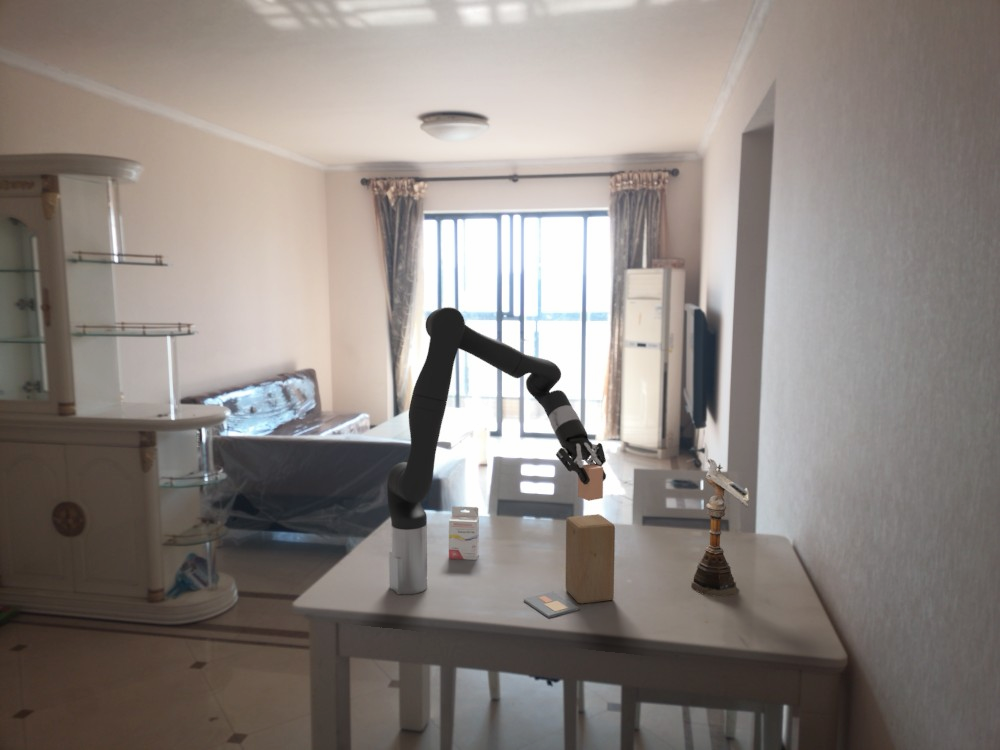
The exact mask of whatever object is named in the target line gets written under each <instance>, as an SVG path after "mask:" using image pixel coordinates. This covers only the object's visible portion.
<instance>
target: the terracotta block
mask: <svg viewBox="0 0 1000 750" xmlns="http://www.w3.org/2000/svg"><path fill="white" fill-rule="evenodd" d="M595 464H596V463H595ZM595 464H587V463H586V464H582V465H583V467H582V468H584V469H585V471H586V473H587V475H588V477H589V478H590V481H589V482H588V483H587V484H585V485H584V484H583V483H582V482H581V480H580V478H579V476H578V475H577V497H578V498H581V499H583V500H586V501H595V500H599V499H603V498H604V497H603V495H604V481H603V470H604V467H603V466H602V467H601V466H598V465H595Z"/></svg>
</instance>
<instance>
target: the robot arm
mask: <svg viewBox="0 0 1000 750" xmlns="http://www.w3.org/2000/svg"><path fill="white" fill-rule="evenodd" d="M425 320H426V321H425V330H426V331H425V332H426V334H427V335H428V336H429V338H430V339H429V342H428V343H429V344H428V350H427V355H426V358H425V361H424V363H423V366H422V367H421V369H420V372H419V374H418V376H417V378H416V382H415V384H414V387H413V391H412V394H411V399H410V402H409V403H410V404H409V408H408V427H409V434H410V450H409V454H408V459H407V462H406V461H403V462H399V463H397V464H395V465H393V467H392V468H391V469H390V470H389V473H388V476H387V483H386V491H387V492H386V494H387V495H386V496H387V508H388V514H389V516H390V522H391V551H389V553H388V554H389V555H388V563H389V564H388V567H389V569H388V571H389V572H388V573H389V574H388V575H389V578H388V579H389V581H388V582H389V588H390V589H392V590H393V592H395V594H397V595H403V594H404V595H412V594H413V595H415V594H418V593H422V592H423V591H425V590H427V588H428V535H427V534H428V530H427V529H428V526H427V523H428V522H427V520H428V518H427V517H428V515H427V513H426V511H425V510H424V508H423V505H422V503H421V502H422V501H423V500H425V499H426V497H427V496H428V495H429V493H430V491H431V488H432V485H433V477H434V469H435V462H436V461H435V459H436V452H437V447H438V443H439V438H440V434H441V428H442V424H443V419H444V415H445V412H446V407H447V403H448V400H449V399H448V397H449V394H450V393H449V392H450V387H451V382H452V375H453V370H454V363H455V361H456V357H457V354H458V351H459V350H461V351H464V352H466V353H468V354H471V356H473V357H476V358H478V359H479V360H482V361H484V362H485V363H487V364H489V366H490V365H491V366H492V367H494V368H496V369H498V370H499V371H501V372H503V373H505V374H506V375H509V376H510V377H513V378H515V379H520V378H521V377H524V376H525V375H527V374H529V375H528V377H527V378H526V380H525V381H526V382H525V385H526V389H527V391H528V394H530V395H531V396H532V397H533V398H534V399H535V400H536V401H537V402H538V403H539V405H541V407H542V408H543V410H544V411H545V414H546V416H547V418H548V420H549V423H550V426H551V428H552V429H553V432H554V434H555V436H556V438H557V441H558V442H559V444H560V446H561V447H560V448H559V449H558V451H557V452H556V453H555V455H556V457H557V459H558V460H559V461H560V463H562V465H563V466H564V467H565V468H566V470H567V471H569V472H572V471H573V472H575V473H577V477H578V476H579V478H580V480H581V482H582V483H583V484H584V485H585V484H587V483H588V482H589V481H590V478H589V477H588V475H587V473H586V471H585V469H584V468H582V467H583V465H584V464H583V461H585V462H586V465H587V464H595V465H598V466H601V467H603V465H604V464H605V463H606V462H607V461H606V455H605V452H604V448H603V447H604V446H603V444H602V443H600V442H599V443H598V444H593V443H592V441H590V440H589V437H588V433H587V430H586V429H585V427H584V425H583V423H582V421H581V419H580V417H579V416H578V414H577V411H576V410H575V409H574V407H573V406H572V404H571V402H570V400H569V398H568V396H567V395H566V393H565V392H564V391H563V390H560V389H556V390H553V391H551V389H553V388H554V386H555V385H556V384H557V383H558V382H559V381H560V380H561V377H562V372H561V369H560V367H559V366H558V365H557V364H556V363H554V362H553V361H550V360H549V359H545V358H542V357H541V358H540V357H535V356H533V355H528V354H525V353H523V352H521V351H520V350H518V349H516V348H514V347H512V346H510V345H508V344H506V343H505V342H502V341H499V340H496V339H494V338H491V337H489V336H487V335H484V334H482V333H480V332H479V331H476V330H474V329H473V328H471V327H469V326H468V325H466V322H465V318H464V316H463V314H462V312H461V311H460V310H458V309H457V308H455V307H452V306H447V307H440V308H438V309H435V310H433V311H432V312H431V313H429V314H428V316H427V318H426V319H425ZM550 391H551V392H550ZM606 478H607V474H606V472H605V470H604V469H603V482H604V481H605V480H606Z"/></svg>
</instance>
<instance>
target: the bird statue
mask: <svg viewBox="0 0 1000 750" xmlns="http://www.w3.org/2000/svg"><path fill="white" fill-rule="evenodd" d="M707 463H708V464H709V466H708V467H707V469H708V471H707V473H706V475H705V479H706V481H707V483H708V484H709V485H710V486H712V487H713V488H714V492H715V493H714V495H713V496H711V497H710V499H709V501H708V503H706V505H705V506H706V508H707V512H706V513H707V515H708V516H710V517H709V518H710V529H709V530H708V532H709V535H710V537H709V545H707V546H706V548H705V549H704V551H705V553H704V555H703V556H702V558H700V560H699V562H698V564H697V567H696V568H697V569H696V571H695V573H694V575H693V577H692V580H691V586H690V587H691V589H693V588H694V589H693V590H695V591H697V592H698V591H699V592H698V593H700V592H701V593H700V594H702V593H703V594H702V595H706V594H710V595H709V596H713V595H715V596H714V597H719V596H721V597H726V596H731V594H732V595H735V594H736V589H737V581H736V580H735V579H734V576H733V574H732V570H731V568H732V567H731V566H730V565H729V562H727V559H726V556H725V555H724V549H723V548H722V547H721V545H720V544H721V542H720V541H721V535H722V531H721V526H722V525H721V522H722V518H723V517H724V516H725V515H726V512H725V511H726V509H727V505H726V504H725V499H724V496H725V491H727V493H730V495H732V496H733V497H734V498H736V499H737V500H738V501H739V502H740V503H741V504H743V506H745V507H746V508H749V502H750V492H749V488H748V487H745V488H743V487H742V486H741V485H739V484H737V483H736V482H735V481H732V480H730V479H729V478H728V477H726V476H725V475H723V473H722V470H721V469H723V466H722V465H721V463H719V464H718V465H717V463H716V461H715V460H714V459H711V458H708V459H707Z"/></svg>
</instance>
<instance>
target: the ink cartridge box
mask: <svg viewBox="0 0 1000 750" xmlns="http://www.w3.org/2000/svg"><path fill="white" fill-rule="evenodd" d="M463 511H469V512H463ZM479 525H480V517H479V508H478V507H477V506H456V505H455V506H451V517H450V519H449V520H448V559H453V560H454V559H455V560H469V561H470V560H471V561H472V560H474V561H477V560H478V558H479V557H478V556H479V552H480V551H479V549H480V547H479V545H480V544H479V542H480V541H479V540H480V537H479V536H480V526H479Z"/></svg>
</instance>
